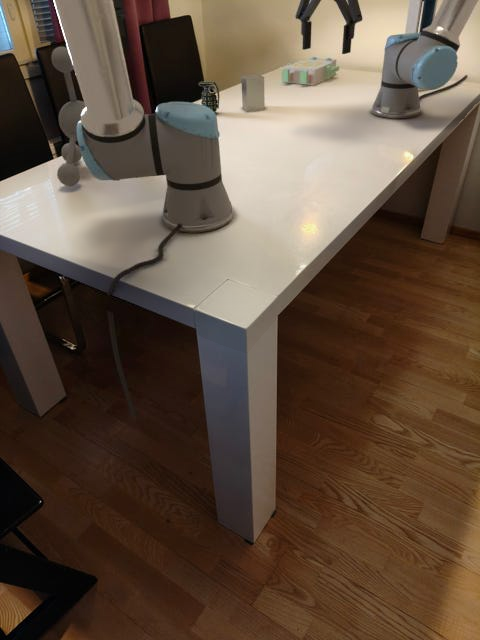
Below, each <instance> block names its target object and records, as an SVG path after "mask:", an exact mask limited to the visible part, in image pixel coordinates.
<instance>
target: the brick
mask: <svg viewBox="0 0 480 640" xmlns="http://www.w3.org/2000/svg"><path fill="white" fill-rule="evenodd" d="M240 77H241V99H242V102H241V103H242V109H243V110H244V111H245V112H248V113H249V112H256V111H257V112H258V111H262V110H263V111H264V110H265V109H266V108H265V107H266V106H265V105H266V103H265V100H266V99H265V98H266V97H265V76H263V75H261V74H259V73H257V74H250V75H241V76H240Z"/></svg>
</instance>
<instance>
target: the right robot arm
mask: <svg viewBox="0 0 480 640" xmlns="http://www.w3.org/2000/svg"><path fill="white" fill-rule="evenodd" d="M333 1H334V2H335V3H336V5H337V7H338V9H339V11H340V13H341V15H342V17H343V19H344V21H345V23H346V24H344V25H343V35H342V48H341V55H346V54H347V55H348V54H351V52H352V51H351V50H352V40H353V39H354V37H355V30H356V24H357V23H360V22H362V21H363V20H364V19H363V15H362V11H361V7H360V3H359V0H333ZM321 2H322V0H300V1H299V4H298V6H297V10H296V13H295V15H294V16H295V19H296V20H299V21H300V23H301V25H300V29H301V30H300V34H301V36H302V50H304V51H305V50H309V49H311V48H312V22H313V21H312V20H311V18H312V15H314V13H315V11H316V9H317V8H318V6H319V5H320V3H321ZM478 2H479V0H442V2H441V4H440V6H439V8H438V10H437V11H436V13H435V18H434V20H433V22H432V24H431V25H430V26H428V27H426V28H424V29H423V30H422V32H421V33H419V32H418V33H409V34H405V33H400V34H399V33H398V34H391V35H389V36H388V37H387V38H386V42H385V46H384V55H383V64H382V71H381V73H382V74H381V82H380V88H379V90H378V92H377V95H376V97H375V99H374V102H373V104H372V109H371V113H372V114H373V115H374V116H377V117H380V118H385V119H396V120H399V119H409V118H414V117H417V116H418V115H420V112H421V102H420V101H421V99H423V98H425V97H428V96H432V95H434V94H437V93H440V92H442V91H446V90H448V89H450V88H453V87H455V86H457V85H458V84H460V83H462V82H463V81H464V80H465V79H467V78H468V74H465V75H464V76H463V77H461V79H459V80H458V81H456V82H454V83H452V84H450V85H447V86H445V85H446V84H448V82H450V81H451V79H452V78H453V77H454V75H455V73H456V72H457V71H456V70H457V69H458V63H459V62H458V57H459V56H458V54H457V53H458V51H459V48H460V46H461V43H460V42H461V41H460V36H461V34H462V32H463V30H464V28H465V27H466V24H467V23H468V20H469V19H470V17H471V16H472V13H473V11H474V9H475V7H476V5H477V4H478ZM443 86H445V87H443ZM442 87H443V88H442ZM418 88H420V89H425V90H424V91H431V92H427V93H424V94H422V95H420V94H419V91H418Z"/></svg>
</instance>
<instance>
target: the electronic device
mask: <svg viewBox="0 0 480 640" xmlns="http://www.w3.org/2000/svg"><path fill="white" fill-rule="evenodd" d="M438 2H439V0H409V2H408V10H407V16H406V23H405V32H404V34H409V33H421V32H422V30H423V29H424V28H426V27H428V26H430V25H431V24H432V22H433V20H434V18H435V16H436V14H437V7H438ZM421 91H426V90H425V89H420V88H418V92H421Z"/></svg>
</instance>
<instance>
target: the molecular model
mask: <svg viewBox="0 0 480 640" xmlns="http://www.w3.org/2000/svg"><path fill="white" fill-rule="evenodd" d="M50 59H51V63H52V65H53V67H54V68H55V69H56V70H57V71H59V72H60V73H63V75H64V80H65V84H66V88H67V92H68V95H69V100H70V101H68V102H66V103H65V104H63V106H62V107H61V109H60V110H59V113H58V123H59V125H58V126H59V128H60V129H61V131H62V133H63V134H64V135H65V136H66V137H67V138H68V139H69V140H68V141H69V142H68V143H65V144H64V145H63V146H62V147H61V152H60V153H61V157H62V159H63V161H65V163H63V164H61V165H60V166H59V167H58V169H57V175H56V176H57V179H58V180H59V182H60V184H62V185H64V186H67V187H73V186H76V185H78V183H79V182H80V180H81V172H80V170H79V168H78V167H77V166H76V165H74V164H77V163H78V162H80V161H81V159H82V158H83V157H82V154H81V149H80V147H79V144H78V145H77V143H76V142H78V139H77V124H78V122H79V121H81V114H82V112H83V110H84V109H85V107H86V106H85V103H84V100H83V101H82V100H77V96H76V91H75V86H74V83H73V79H72V76H71V75H72V74H71V72H72V71H73V70H74V67H73V63H72V60H71V57H70V54H69V50H68V47H67V46H58V47H56V48H54V49H53V50H52V52H51V58H50Z"/></svg>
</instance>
